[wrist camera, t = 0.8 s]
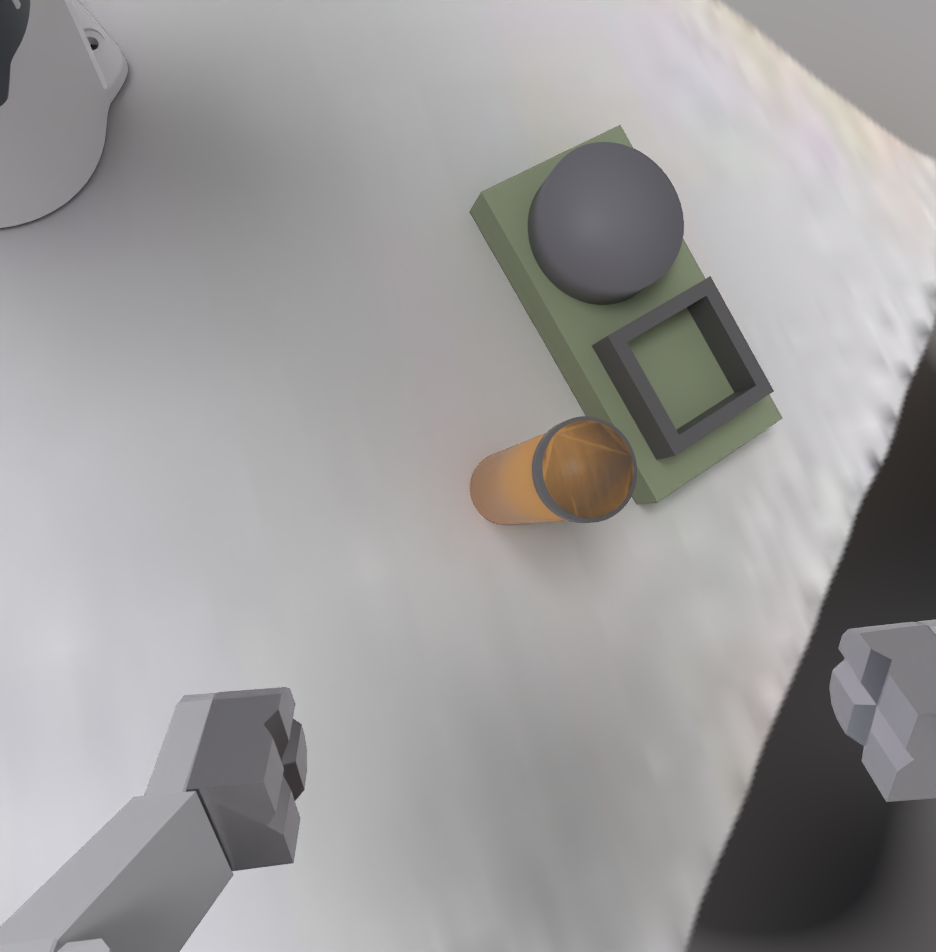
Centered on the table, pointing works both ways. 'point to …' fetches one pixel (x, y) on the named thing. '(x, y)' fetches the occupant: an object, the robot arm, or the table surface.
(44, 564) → the table surface
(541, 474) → the orange pill bottle
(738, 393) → the green slab
